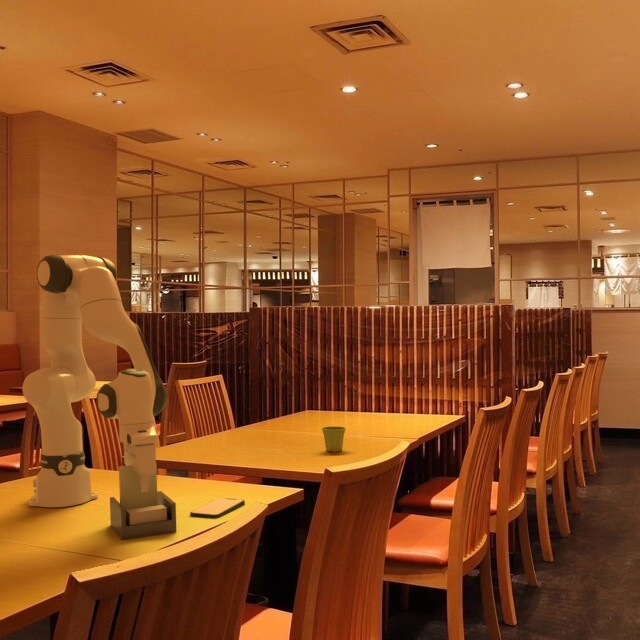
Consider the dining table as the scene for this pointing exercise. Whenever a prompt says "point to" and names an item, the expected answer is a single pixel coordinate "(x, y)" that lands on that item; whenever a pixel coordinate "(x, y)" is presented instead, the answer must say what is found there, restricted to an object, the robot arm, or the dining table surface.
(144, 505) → the tall sheet
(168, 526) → the rack
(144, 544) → the dining table surface
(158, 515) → the offcut upper
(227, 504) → the phone case
